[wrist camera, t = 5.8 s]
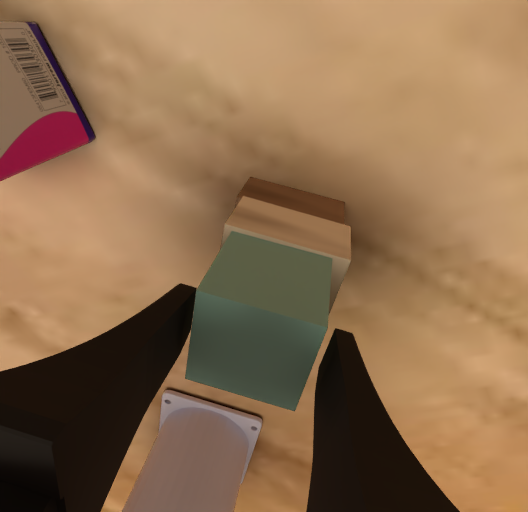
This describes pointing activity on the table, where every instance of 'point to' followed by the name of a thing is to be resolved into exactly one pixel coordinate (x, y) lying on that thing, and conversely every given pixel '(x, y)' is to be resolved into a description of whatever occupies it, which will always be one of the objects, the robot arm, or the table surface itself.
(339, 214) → the tower base block
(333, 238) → the tower top block
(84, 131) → the supplement box
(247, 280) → the teal cube
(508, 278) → the table surface
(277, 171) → the table surface
